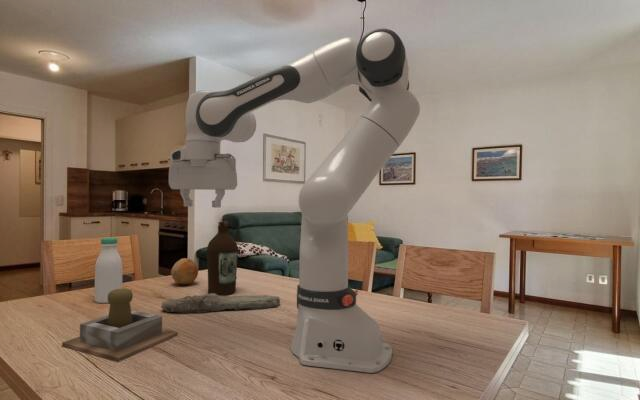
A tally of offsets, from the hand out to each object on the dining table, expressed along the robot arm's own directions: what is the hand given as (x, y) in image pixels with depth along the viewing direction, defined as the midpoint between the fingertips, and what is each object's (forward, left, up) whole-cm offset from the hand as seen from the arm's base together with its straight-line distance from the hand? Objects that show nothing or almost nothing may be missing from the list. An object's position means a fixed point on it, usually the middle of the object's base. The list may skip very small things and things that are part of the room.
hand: (202, 207), depth 96 cm
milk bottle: (+42, -5, -31) cm, 53 cm away
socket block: (+9, +16, -31) cm, 36 cm away
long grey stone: (+4, -15, -32) cm, 35 cm away
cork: (+10, +16, -30) cm, 36 cm away
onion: (+36, -32, -31) cm, 57 cm away
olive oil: (+16, -29, -31) cm, 46 cm away
